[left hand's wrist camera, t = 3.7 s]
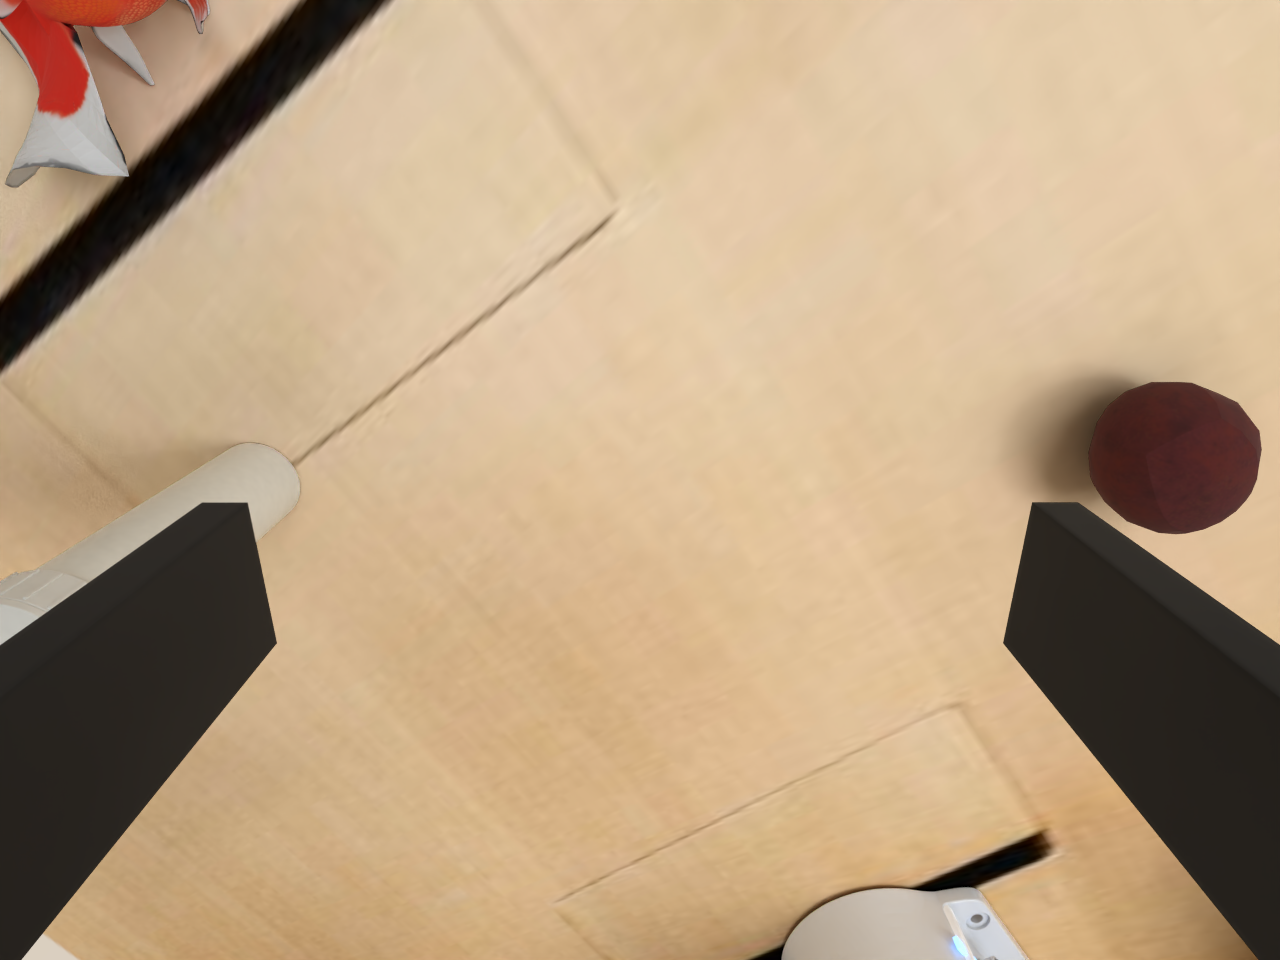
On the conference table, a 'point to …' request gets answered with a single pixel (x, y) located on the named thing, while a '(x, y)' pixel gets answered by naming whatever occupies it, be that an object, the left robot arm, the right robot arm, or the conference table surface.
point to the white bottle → (191, 506)
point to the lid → (32, 597)
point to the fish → (74, 79)
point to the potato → (1174, 457)
